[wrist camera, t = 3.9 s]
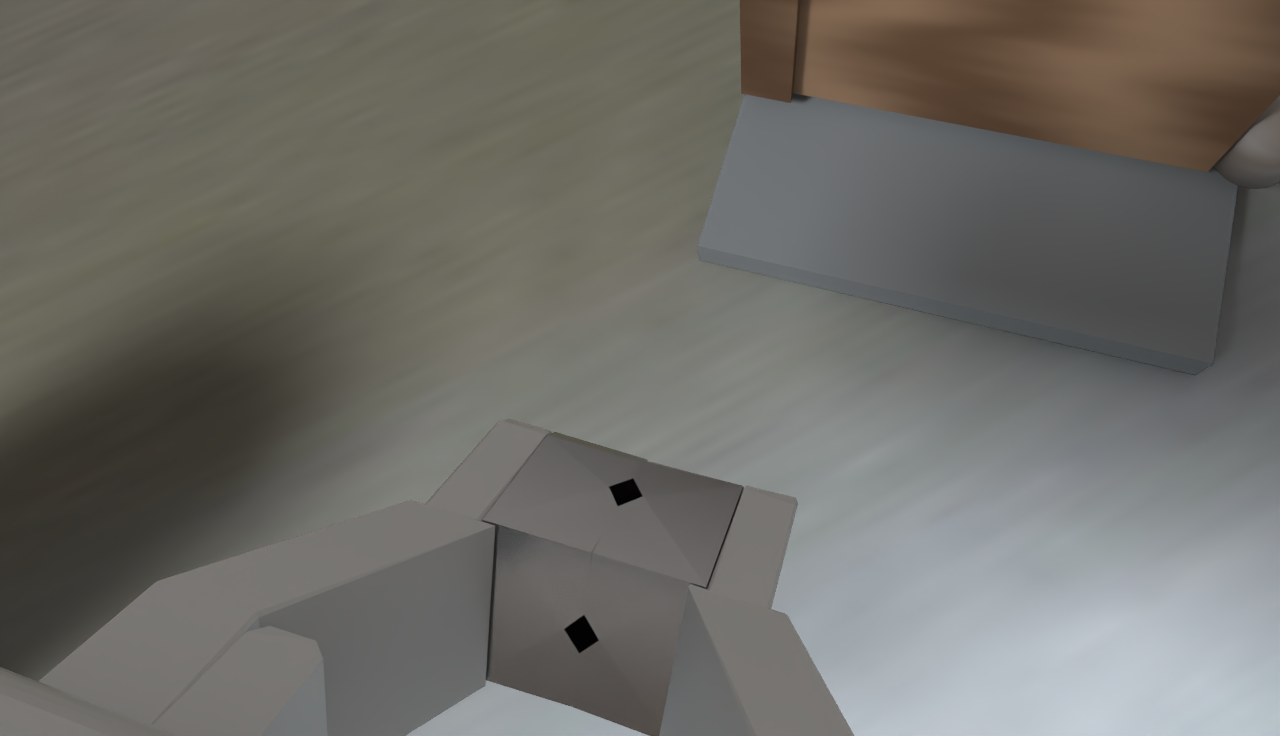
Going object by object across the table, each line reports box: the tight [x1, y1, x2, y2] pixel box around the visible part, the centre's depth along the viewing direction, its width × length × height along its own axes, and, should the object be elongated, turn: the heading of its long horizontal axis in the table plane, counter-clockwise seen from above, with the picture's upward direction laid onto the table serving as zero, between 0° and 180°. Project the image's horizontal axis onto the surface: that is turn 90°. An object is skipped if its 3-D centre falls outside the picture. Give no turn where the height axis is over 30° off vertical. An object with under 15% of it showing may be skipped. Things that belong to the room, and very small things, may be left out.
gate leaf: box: [740, 0, 1280, 189], centre depth 22 cm, size 15×2×8 cm, turn 73°
